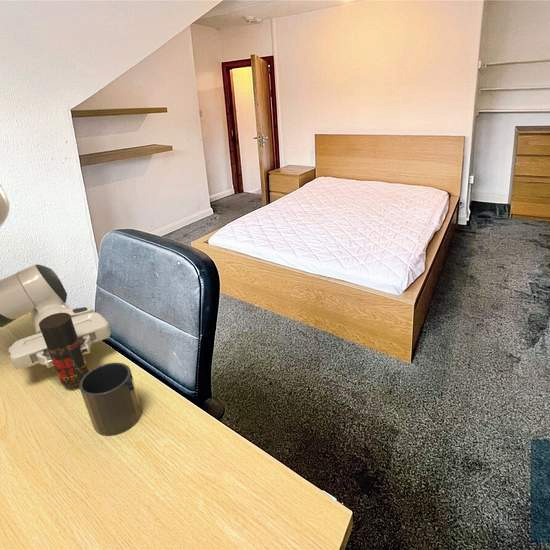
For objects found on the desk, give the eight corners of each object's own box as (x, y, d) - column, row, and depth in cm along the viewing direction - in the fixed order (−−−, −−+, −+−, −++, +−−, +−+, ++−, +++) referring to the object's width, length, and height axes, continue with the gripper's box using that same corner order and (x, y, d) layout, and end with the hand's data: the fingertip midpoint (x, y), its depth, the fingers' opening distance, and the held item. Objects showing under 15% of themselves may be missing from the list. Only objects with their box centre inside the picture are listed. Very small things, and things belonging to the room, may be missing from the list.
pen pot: (83, 428, 78) (68, 388, 74) (117, 396, 86) (105, 358, 81) (118, 441, 75) (105, 400, 71) (151, 407, 82) (140, 368, 78)
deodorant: (57, 377, 90) (35, 320, 84) (84, 365, 94) (65, 309, 87) (65, 391, 86) (43, 332, 80) (93, 377, 90) (74, 319, 83)
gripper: (2, 334, 91) (7, 365, 80) (97, 303, 101) (113, 328, 90) (12, 357, 94) (18, 390, 83) (104, 325, 104) (119, 351, 93)
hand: (68, 357), depth 87 cm, fingers closed on deodorant, 6 cm apart
